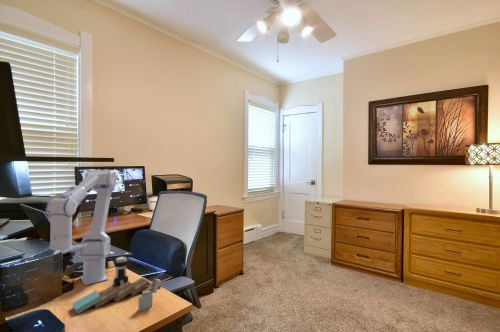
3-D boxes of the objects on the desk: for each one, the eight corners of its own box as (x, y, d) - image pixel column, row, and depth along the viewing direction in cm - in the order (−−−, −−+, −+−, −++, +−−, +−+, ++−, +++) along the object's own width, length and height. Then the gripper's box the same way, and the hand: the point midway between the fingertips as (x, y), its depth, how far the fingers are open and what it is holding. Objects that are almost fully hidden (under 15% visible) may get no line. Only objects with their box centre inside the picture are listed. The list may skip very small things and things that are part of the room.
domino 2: (136, 286, 99) (154, 281, 104) (136, 291, 99) (154, 285, 104) (142, 291, 95) (160, 285, 100) (142, 295, 95) (160, 289, 100)
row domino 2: (108, 293, 92) (128, 281, 97) (110, 297, 92) (129, 284, 97) (114, 298, 89) (134, 285, 94) (115, 302, 89) (135, 289, 94)
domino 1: (72, 303, 85) (95, 290, 90) (73, 307, 85) (97, 294, 90) (75, 309, 81) (99, 295, 86) (77, 314, 82) (101, 300, 86)
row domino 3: (124, 288, 96) (141, 277, 101) (125, 292, 96) (142, 281, 102) (131, 291, 93) (149, 280, 98) (132, 295, 93) (149, 284, 99)
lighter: (141, 311, 84) (141, 286, 84) (138, 309, 85) (138, 284, 85) (160, 302, 90) (160, 278, 90) (157, 300, 91) (157, 277, 91)
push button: (111, 289, 98) (111, 262, 98) (107, 284, 102) (107, 258, 102) (130, 284, 102) (130, 258, 102) (125, 280, 106) (126, 255, 106)
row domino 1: (90, 298, 88) (112, 286, 93) (92, 302, 89) (113, 289, 93) (94, 304, 85) (117, 291, 89) (96, 308, 85) (118, 295, 90)
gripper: (33, 241, 79) (32, 287, 79) (89, 233, 88) (88, 274, 88) (31, 236, 84) (31, 279, 84) (85, 229, 94) (84, 268, 94)
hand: (60, 276), depth 86 cm, fingers closed
